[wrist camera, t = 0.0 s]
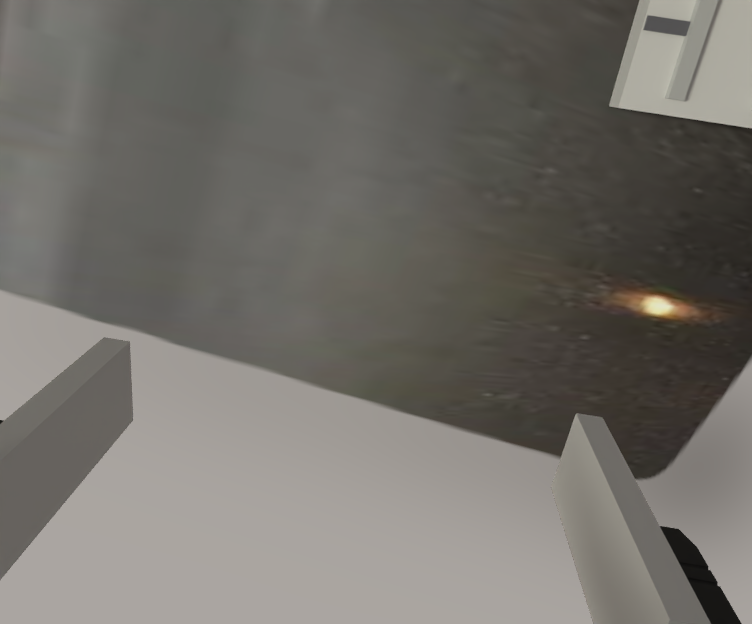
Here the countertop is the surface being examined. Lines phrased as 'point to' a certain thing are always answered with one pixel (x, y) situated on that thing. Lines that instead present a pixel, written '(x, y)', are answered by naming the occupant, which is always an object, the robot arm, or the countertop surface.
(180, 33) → the countertop surface
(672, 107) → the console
